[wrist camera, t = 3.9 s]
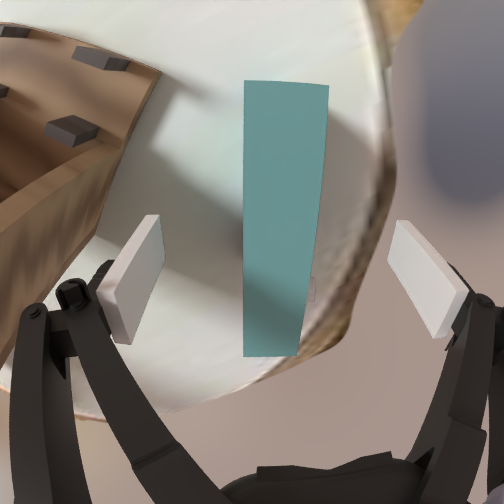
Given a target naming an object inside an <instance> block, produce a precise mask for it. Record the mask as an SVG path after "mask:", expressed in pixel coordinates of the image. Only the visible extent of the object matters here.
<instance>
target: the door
mask: <svg viewBox="0 0 504 504" xmlns="http://www.w3.org/2000/svg"><path fill="white" fill-rule="evenodd" d="M328 95H329V85H319V84H309V83H297V82H281V81H250V80H244V150H243V357H278V356H297V352H298V346H299V341H300V335H301V329H302V324H303V318H304V312H305V306H306V302H314V299H315V292H316V287H315V280H314V277H310V274H311V267H312V260H313V252H314V245H315V237H316V229H317V221H318V213H319V204H320V195H321V185H322V175H323V164H324V153H325V141H326V128H327V113H328Z"/></svg>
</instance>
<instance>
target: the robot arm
mask: <svg viewBox="0 0 504 504" xmlns="http://www.w3.org/2000/svg"><path fill="white" fill-rule="evenodd" d="M165 259H166V258H165V251H164V244H163V237H162V230H161V222H160V215H146V216H145V217H144V219H143V220H142V222H141V223H140V224H139V226H138V227H137V229H136V230H135V232H134V233H133V234H132V236H131V237H130V239H129V240H128V242H127V243H126V245H125V246H124V248H123V249H122V251H121V252H120V254H119V255H118V257H117V258H116V260H107V261H106V262H105V263H103V264H102V265H101V266H100V267H99V269H98V270H97V272H96V274H95V275H94V276H93V277H92V279H91V281H90V282H89V284H88V285H86V282H85V281H84V280H83V279H80V278H73V279H69V280H66V281H65V282H63V283H61V284H60V285H59V286H58V287H57V289H56V293H55V295H56V297H57V300H58V302H59V304H60V307H61V310H55V311H48V309H47V307H46V305H45V304H44V303H40V302H39V303H33V304H31V305H29V306H27V307H26V308H25V309H24V310H23V312H22V314H21V316H20V321H19V327H18V332H17V338H16V345H15V352H14V359H13V368H12V378H11V391H10V413H9V415H10V416H9V438H10V458H11V459H10V460H11V472H12V481H13V489H14V496H15V498H14V504H92V502H91V498H90V494H89V490H88V486H87V482H86V478H85V474H84V469H83V465H82V460H81V456H80V450H79V445H78V438H77V432H76V425H75V418H74V410H73V401H72V391H71V378H70V360H69V357H76V356H78V357H79V360H80V363H81V365H82V368H83V370H84V372H85V375H86V377H87V380H88V382H89V384H90V386H91V389H92V391H93V393H94V395H95V397H96V400H97V402H98V404H99V406H100V408H101V410H102V412H103V414H104V416H105V418H106V420H107V422H108V424H109V426H110V427H111V429H112V431H113V433H114V435H115V437H116V438H117V440H118V442H119V444H120V446H121V447H122V449H123V451H124V453H125V454H126V456H127V457H128V459H129V461H130V463H131V466H132V469H133V471H134V473H135V475H136V477H137V478H138V480H139V481H140V483H141V484H142V486H143V487H144V489H145V490H146V492H147V493H148V494H149V496H150V497H151V499H152V500H153V501H154V503H155V504H471V503H469V502H468V501H467V499H468V496H469V494H470V491H471V488H472V486H473V483H474V480H475V477H476V474H477V471H478V467H479V464H480V461H481V457H482V453H483V450H484V446H485V442H486V437H487V433H486V431H485V430H482V429H481V425H482V421H483V416H484V411H485V406H486V400H487V396H488V400H489V457H488V470H487V494H488V497H487V500H486V502H484V503H483V504H504V307H503V308H502V307H497V306H495V304H494V302H493V301H492V300H491V299H490V298H489V297H488V296H485V295H484V294H479V293H477V294H476V293H475V292H474V291H473V289H472V288H471V287H470V286H469V284H468V283H467V282H466V281H465V280H464V279H463V277H462V276H461V275H459V272H458V271H457V270H456V269H455V268H454V267H453V266H452V265H450V264H449V263H448V262H446V261H445V260H444V259H443V258H442V257H441V256H440V254H439V253H438V252H437V251H436V250H435V249H434V248H433V246H432V245H431V244H430V243H429V242H428V241H427V240H426V239H425V238H424V237H423V235H422V234H421V233H420V232H419V231H418V230H417V229H416V228H415V227H414V226H413V225H412V224H411V223H410V222H409V221H408V220H397V222H396V226H395V231H394V235H393V239H392V243H391V247H390V251H389V254H388V258H387V262H388V263H389V265H390V267H391V268H392V270H393V271H394V273H395V274H396V276H397V278H398V279H399V281H400V282H401V284H402V286H403V287H404V289H405V290H406V292H407V294H408V295H409V297H410V299H411V301H412V302H413V304H414V306H415V307H416V309H417V311H418V312H419V314H420V316H421V318H422V319H423V321H424V323H425V325H426V326H427V328H428V330H429V332H430V334H431V336H432V337H433V339H438V338H445V337H446V336H447V334H448V332H449V330H450V329H451V328H452V329H453V331H454V335H453V337H452V338H451V340H450V342H449V344H448V345H447V347H446V349H445V351H447V350H448V353H447V356H446V360H445V363H444V366H443V370H442V373H441V376H440V379H439V382H438V385H437V388H436V391H435V394H434V397H433V400H432V402H431V405H430V407H429V410H428V413H427V415H426V418H425V420H424V423H423V425H422V427H421V430H420V432H419V434H418V437H417V439H416V441H415V443H414V445H413V448H412V450H411V452H410V453H409V455H408V456H407V457H406V459H405V460H402V459H395V458H392V454H391V451H389V452H384V453H380V454H375V455H370V456H364V457H360V458H358V459H356V460H353V461H351V462H348V463H346V464H344V465H341V466H339V467H336V468H333V469H330V470H324V469H315V468H307V467H300V466H294V465H289V466H266V467H265V466H259V467H257V472H256V473H255V474H251V475H247V476H244V477H241V478H239V479H237V480H234V481H232V482H231V483H229V484H227V485H226V486H224V487H223V488H222V489H220V490H219V489H218V487H217V486H216V485H215V484H214V483H213V482H212V481H211V480H210V479H209V477H208V476H207V475H206V474H205V473H204V472H203V470H202V469H201V468H200V467H199V466H198V465H197V463H196V462H195V461H194V460H193V459H192V457H191V456H190V455H189V454H188V452H187V451H186V450H185V449H184V447H183V446H182V445H181V444H180V443H179V442H177V441H176V440H175V439H174V437H173V436H172V434H171V433H170V432H169V430H168V429H167V428H166V426H165V425H164V423H163V422H162V421H161V419H160V418H159V416H158V415H157V413H156V412H155V410H154V409H153V408H152V406H151V405H150V403H149V402H148V400H147V399H146V397H145V395H144V394H143V392H142V391H141V389H140V388H139V386H138V384H137V383H136V381H135V380H134V378H133V376H132V375H131V373H130V371H129V370H128V368H127V366H126V364H125V363H124V361H123V359H122V358H121V356H120V354H119V352H118V350H117V349H116V347H115V345H114V343H113V341H112V339H111V338H110V335H111V334H112V337H113V339H114V342H115V343H119V344H128V345H131V344H132V342H133V339H134V336H135V334H136V331H137V328H138V326H139V323H140V320H141V318H142V315H143V313H144V310H145V307H146V305H147V302H148V300H149V297H150V295H151V292H152V290H153V288H154V285H155V283H156V280H157V278H158V275H159V273H160V271H161V268H162V266H163V264H164V261H165ZM448 348H449V349H448Z"/></svg>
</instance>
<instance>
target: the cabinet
mask: <svg viewBox="0 0 504 504" xmlns="http://www.w3.org/2000/svg"><path fill="white" fill-rule="evenodd" d="M161 73H162V72H161V71H158V70H156V69H154V68H151V67H149V66H147V65H144V64H142V63H139V62H137V61H134V60H132V59H129V58H127V57H124V56H122V55H119V54H116V53H114V52H111V51H108V50H105V49H103V48H100V47H97V46H94V45H91V44H88V43H85V42H82V41H79V40H75V39H72V38H69V37H65V36H62V35H59V34H55V33H51V32H48V31H44V30H40V29H36V28H32V27H27V26H23V25H18V24H14V23H7V22H0V370H1V368H2V366H3V364H4V363H5V361H6V359H7V357H8V356H9V354H10V352H11V351H12V349H13V347H14V346H15V344H16V338H17V332H18V327H19V321H20V316H21V314H22V312H23V310H24V309H25V308H26V307H27V306H29V305H31V304H33V303H39V302H40V303H42V302H43V301H44V300H45V298H46V297H47V295H48V294H49V292H50V291H51V290H52V288H53V287H54V286H55V284H56V283H57V282H58V280H59V279H60V277H61V276H62V275H63V274H64V272H65V271H66V270H67V268H68V267H69V266H70V264H71V263H72V262H73V261H74V259H75V258H76V257H77V256H78V254H79V253H80V252H81V251H82V249H83V248H84V247H85V246H86V244H87V243H88V242H89V241H90V240H91V238H92V237H93V236H94V234H95V231H96V228H97V224H98V221H99V218H100V215H101V212H102V209H103V206H104V203H105V200H106V197H107V194H108V191H109V189H110V186H111V183H112V180H113V178H114V175H115V173H116V170H117V167H118V165H119V162H120V160H121V157H122V155H123V153H124V150H125V148H126V145H127V143H128V141H129V138H130V136H131V134H132V132H133V129H134V127H135V125H136V123H137V121H138V119H139V116H140V114H141V112H142V110H143V108H144V106H145V104H146V102H147V100H148V98H149V96H150V94H151V92H152V90H153V88H154V86H155V84H156V83H157V81H158V79H159V77H160V75H161Z"/></svg>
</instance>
